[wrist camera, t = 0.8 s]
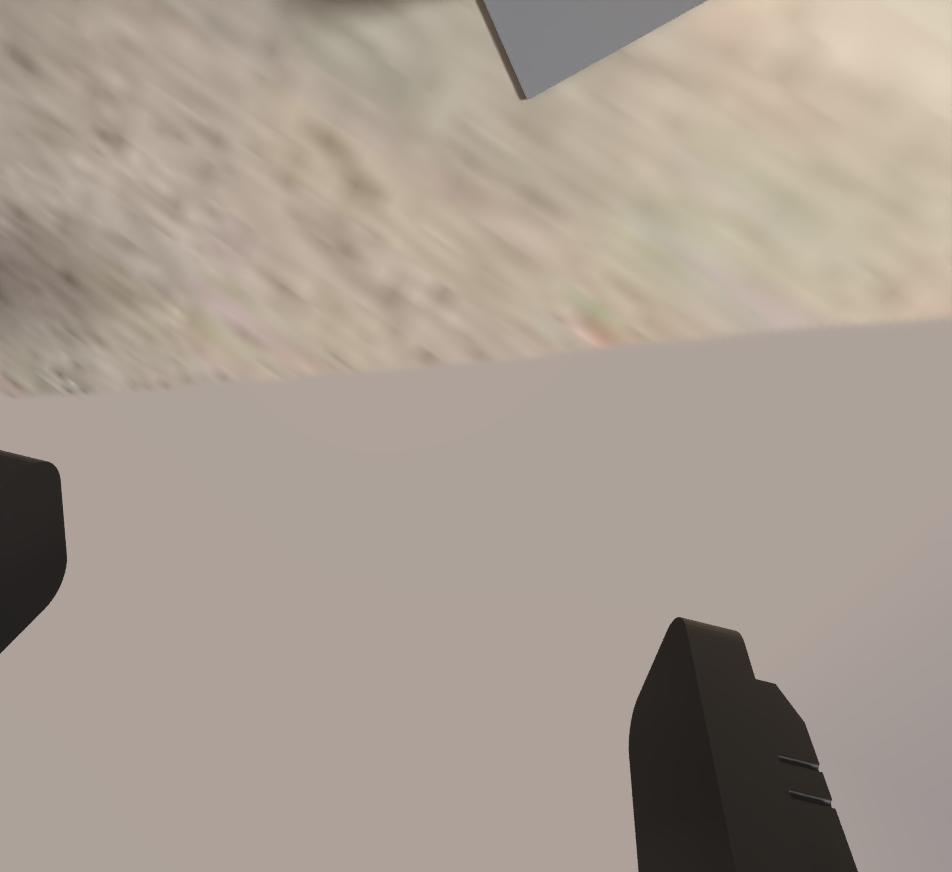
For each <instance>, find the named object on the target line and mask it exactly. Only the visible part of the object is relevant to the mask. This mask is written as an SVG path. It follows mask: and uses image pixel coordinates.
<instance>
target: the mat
mask: <svg viewBox="0 0 952 872" xmlns="http://www.w3.org/2000/svg"><path fill="white" fill-rule="evenodd" d="M483 1H484V3H485V5H486V7H487V10H488V12H489V14H490V17H491V19H492V21H493V23H494V26H495V28H496V30H497V32H498V35H499V37H500V39H501V41H502V44H503V46H504V48H505V51H506V53H507V55H508V57H509V60H510V62H511V64H512V66H513V69H514V71H515V73H516V76H517V78H518V80H519V82H520V85H521V87H522V89H523V91H524V94H525V96H526V98H527V100H528V99H530V98H532V97H534V96H535V95H537V94H539V93H541V92H543V91H544V90H546V89H548V88H550V87H552V86H553V85H555V84H557V83H559V82H561V81H562V80H564V79H566V78H568V77H570V76H571V75H573V74H575V73H577V72H579V71H580V70H582V69H584V68H586V67H588V66H589V65H591V64H593V63H595V62H597V61H598V60H600V59H602V58H604V57H606V56H607V55H609V54H611V53H613V52H615V51H617V50H618V49H620V48H622V47H624V46H626V45H627V44H629V43H631V42H633V41H635V40H636V39H638V38H640V37H642V36H644V35H645V34H647V33H649V32H651V31H653V30H654V29H656V28H658V27H660V26H662V25H663V24H665V23H667V22H669V21H671V20H672V19H674V18H676V17H678V16H680V15H681V14H683V13H685V12H687V11H689V10H690V9H692V8H694V7H696V6H698V5H699V4H701V3H703V2H705V1H707V0H483Z"/></svg>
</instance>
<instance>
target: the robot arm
mask: <svg viewBox="0 0 952 872" xmlns="http://www.w3.org/2000/svg"><path fill="white" fill-rule="evenodd" d="M66 564H67V553H66V541H65V528H64V517H63V505H62V492H61V480H60V475H59V472H58V470H57V468H56V467H55V466H54V465H53V464H52V463H50V462H47V461H43V460H39V459H35V458H31V457H26V456H22V455H18V454H14V453H10V452H5V451H1V450H0V653H1V652H2V651H3V650H4V649H5V648H6V647H7V646H8V645H9V644H10V643H11V642H12V641H13V640H14V639H15V638H16V637H17V636H18V635H19V634H20V633H21V632H22V631H23V630H24V629H25V628H26V627H27V626H28V625H29V624H30V623H31V622H32V621H33V620H34V619H35V618H36V617H37V616H38V615H39V614H40V613H41V612H42V611H43V610H44V609H45V608H46V607H47V606H48V605H49V603H50V602H51V601H52V599H53V598H54V596H55V595H56V593H57V591H58V589H59V587H60V585H61V583H62V580H63V577H64V574H65V570H66ZM629 759H630V772H631V784H632V797H633V809H634V821H635V833H636V845H637V858H638V870H639V872H858V871H857V868H856V865H855V862H854V860H853V857H852V854H851V851H850V848H849V846H848V843H847V840H846V837H845V834H844V831H843V829H842V826H841V824H840V820H839V817H838V815H837V812H836V809H833V808H832V807H831V801H832V798H831V795H830V792H829V790H828V787H827V784H826V781H825V778H824V775H823V773H822V772H819V770H818V767H819V761H818V759H817V756H816V753H815V750H814V747H813V745H812V742H811V739H810V737H809V733H808V731H807V728H806V725H805V723H804V721H803V720H802V719H801V717H800V716H799V715H798V714H797V712H796V711H795V709H794V708H793V707H792V705H791V704H790V703H789V701H788V700H787V699H786V697H785V696H784V695H783V693H782V692H781V691H780V689H779V688H778V687H777V686H776V684H773V683H769V682H765V681H761V680H757V679H755V677H754V673H753V670H752V666H751V663H750V660H749V656H748V653H747V650H746V646H745V643H744V640H743V638H742V636H741V635H740V633H738V632H737V631H734V630H730V629H726V628H722V627H717V626H713V625H709V624H705V623H701V622H697V621H693V620H689V619H685V618H681V617H678V618H676V619H674V621H673V622H672V623H671V624H670V626H669V628H668V630H667V632H666V634H665V637H664V639H663V641H662V644H661V646H660V648H659V650H658V653H657V655H656V657H655V660H654V662H653V664H652V666H651V669H650V671H649V673H648V676H647V678H646V680H645V682H644V685H643V687H642V689H641V691H640V694H639V696H638V698H637V701H636V704H635V707H634V710H633V714H632V720H631V726H630V734H629Z"/></svg>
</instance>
